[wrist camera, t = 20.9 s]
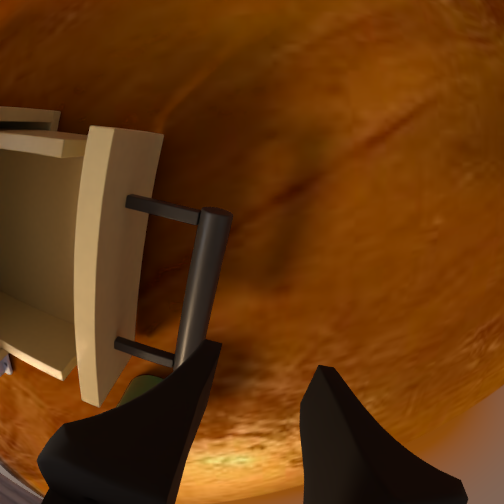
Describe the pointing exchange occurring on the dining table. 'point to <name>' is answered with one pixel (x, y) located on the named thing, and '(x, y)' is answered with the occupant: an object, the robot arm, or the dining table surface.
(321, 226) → the dining table surface
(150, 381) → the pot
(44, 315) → the drawer
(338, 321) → the dining table surface
